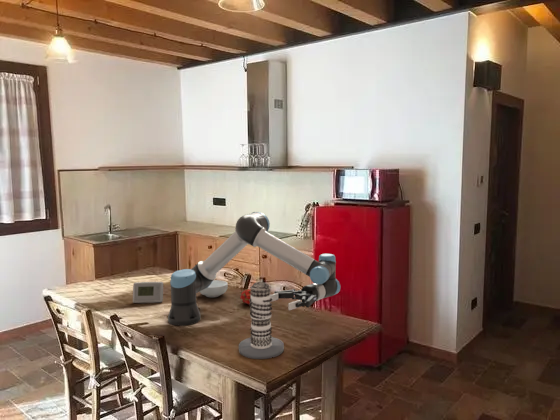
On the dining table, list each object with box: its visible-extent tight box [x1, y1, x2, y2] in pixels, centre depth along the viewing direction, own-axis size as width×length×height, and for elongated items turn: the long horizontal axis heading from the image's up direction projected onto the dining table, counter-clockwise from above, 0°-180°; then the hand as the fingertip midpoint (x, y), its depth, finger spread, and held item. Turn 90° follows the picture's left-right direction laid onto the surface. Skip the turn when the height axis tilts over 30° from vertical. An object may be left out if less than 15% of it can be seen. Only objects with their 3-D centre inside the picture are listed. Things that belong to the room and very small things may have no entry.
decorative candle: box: [248, 281, 273, 349], centre depth 181 cm, size 9×9×25 cm
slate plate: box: [238, 336, 285, 360], centre depth 182 cm, size 18×18×2 cm
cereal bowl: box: [199, 279, 229, 298], centre depth 257 cm, size 17×17×7 cm
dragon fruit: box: [239, 288, 252, 306], centre depth 241 cm, size 8×8×12 cm
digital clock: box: [132, 281, 164, 304], centre depth 246 cm, size 16×9×11 cm, turn 82°
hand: (277, 303), depth 186 cm, fingers open, 13 cm apart
